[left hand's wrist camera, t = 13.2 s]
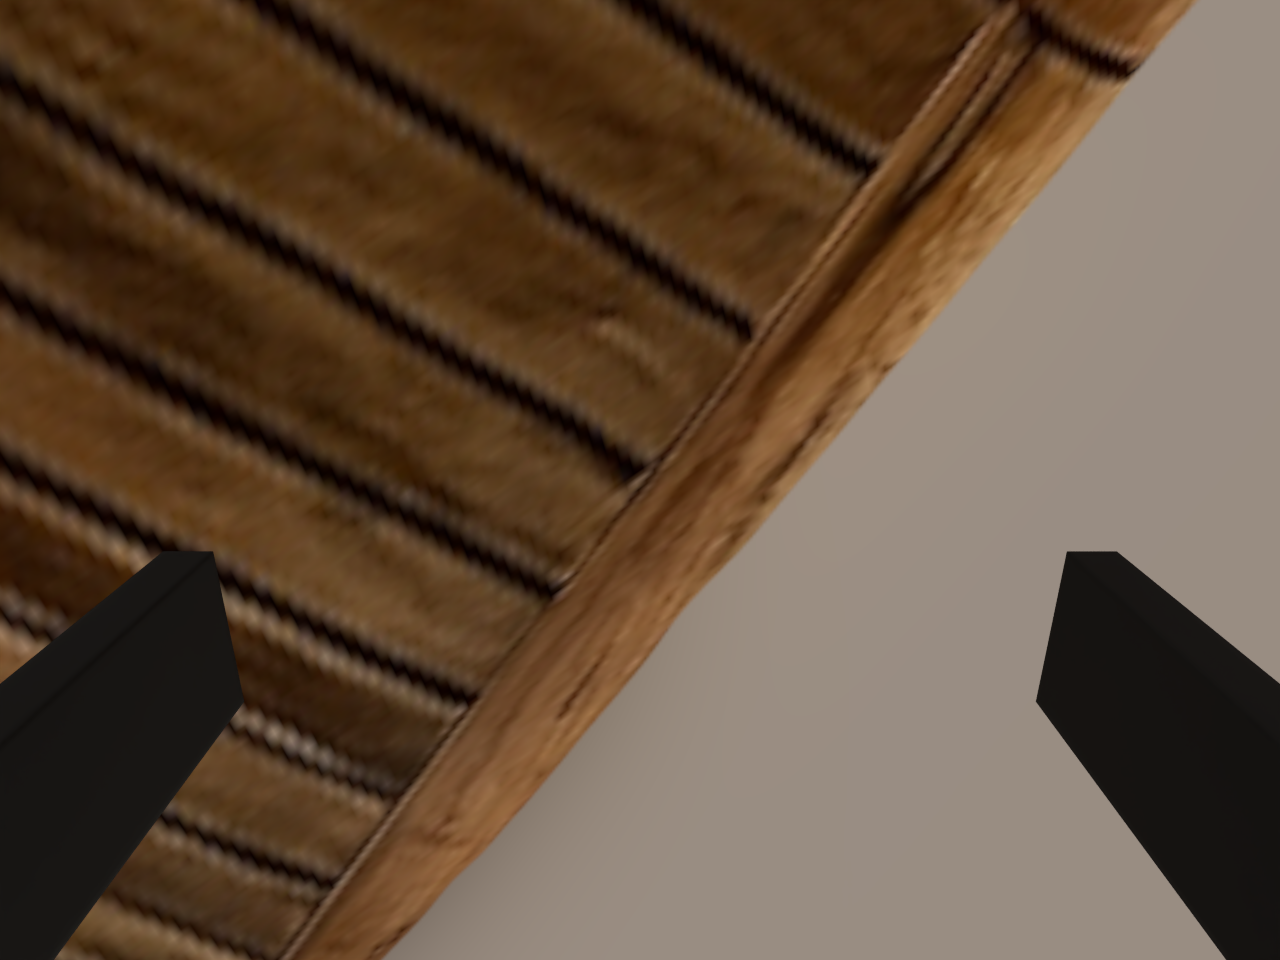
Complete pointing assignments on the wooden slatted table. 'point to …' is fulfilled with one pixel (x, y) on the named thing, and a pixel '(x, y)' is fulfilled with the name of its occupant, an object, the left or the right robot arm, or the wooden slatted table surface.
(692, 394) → the wooden slatted table surface
